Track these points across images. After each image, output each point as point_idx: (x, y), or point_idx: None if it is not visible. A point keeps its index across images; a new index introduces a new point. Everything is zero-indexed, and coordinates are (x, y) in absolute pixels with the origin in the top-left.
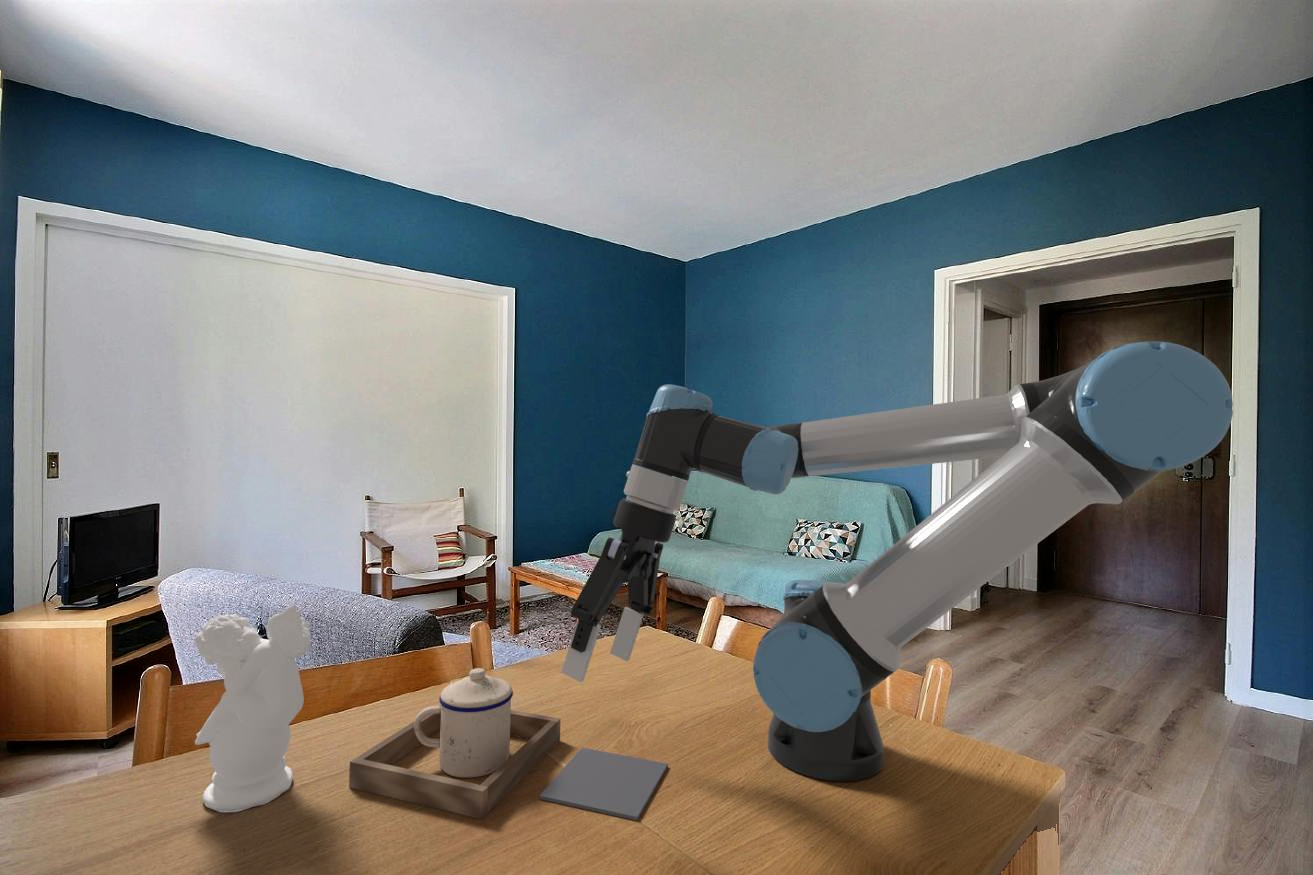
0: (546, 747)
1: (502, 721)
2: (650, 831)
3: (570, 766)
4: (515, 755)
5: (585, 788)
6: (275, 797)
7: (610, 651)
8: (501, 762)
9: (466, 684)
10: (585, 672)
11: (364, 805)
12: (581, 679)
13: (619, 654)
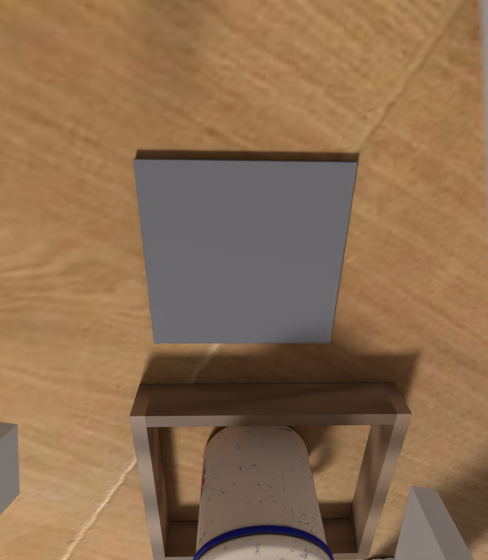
0: (193, 392)
1: (272, 490)
2: (384, 123)
3: (227, 335)
4: (293, 421)
5: (288, 286)
6: (391, 558)
7: (14, 498)
8: (266, 426)
9: None
10: (428, 513)
11: (388, 495)
12: (436, 496)
13: (9, 466)
